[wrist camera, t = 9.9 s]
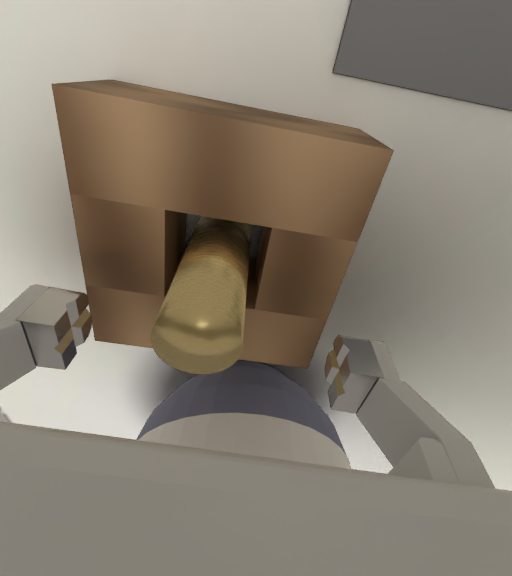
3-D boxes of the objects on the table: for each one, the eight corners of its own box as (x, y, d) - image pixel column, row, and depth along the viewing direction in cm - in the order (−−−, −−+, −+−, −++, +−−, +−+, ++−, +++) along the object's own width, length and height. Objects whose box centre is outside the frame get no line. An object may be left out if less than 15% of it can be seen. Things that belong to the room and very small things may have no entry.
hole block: (359, 128, 16) (393, 150, 11) (299, 313, 22) (307, 368, 18) (111, 79, 15) (52, 84, 10) (127, 288, 21) (95, 340, 17)
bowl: (275, 296, 22) (282, 426, 14) (362, 413, 29) (399, 541, 21) (113, 375, 27) (50, 504, 19) (223, 458, 34) (212, 574, 26)
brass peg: (255, 202, 18) (249, 315, 10) (247, 248, 19) (236, 379, 11) (202, 192, 18) (149, 301, 9) (199, 240, 19) (151, 368, 11)
